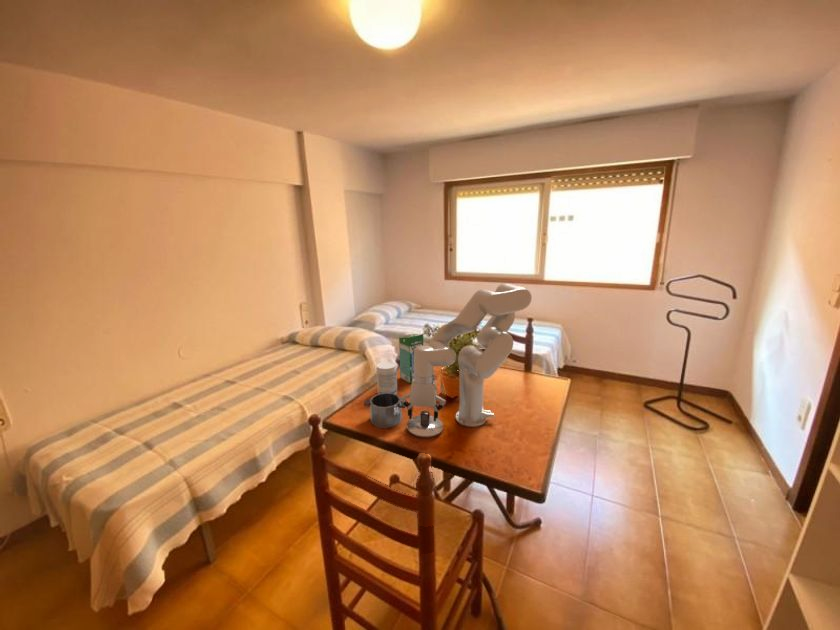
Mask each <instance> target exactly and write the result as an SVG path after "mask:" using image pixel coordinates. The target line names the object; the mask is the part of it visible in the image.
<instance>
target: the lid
mask: <svg viewBox="0 0 840 630" xmlns="http://www.w3.org/2000/svg"><path fill="white" fill-rule="evenodd" d="M430 414H431V413H430V411H429V410H422V411H420V415H416V416H412V418H411V419H409V420H408V421H407V424H406V426H407V427H406V429H407V431H408V432H409V433H411V435H413V436H416V437H420V438H431V437H436V436H437V435H439V434H440V433H441V432H442V431H443V429H444V428H443V426H444V424H443V421H442V420H441V419H439V417H438V418H436V421H434V415H430Z"/></svg>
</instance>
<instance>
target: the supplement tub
mask: <svg viewBox="0 0 840 630" xmlns="http://www.w3.org/2000/svg"><path fill="white" fill-rule="evenodd" d="M375 370H376V385H377V394H381V393H394V394H396V395H397V394H398V377H397V376H398V373H397V372H398V371H397V364H396V362H393V361H382V362H378V363H377V364H376V369H375Z"/></svg>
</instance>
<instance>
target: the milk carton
mask: <svg viewBox="0 0 840 630" xmlns="http://www.w3.org/2000/svg"><path fill="white" fill-rule="evenodd" d="M398 344H399V345H398V346H399V377H400V379H401V380H404V381H405V382H407V383H409V384H412V380H413V379H414V351H415V348H416V347H418V346H422V345H424V333H413V332H408V333H405V334H404V336H400V337H399V338H398Z"/></svg>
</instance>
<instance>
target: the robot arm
mask: <svg viewBox="0 0 840 630" xmlns="http://www.w3.org/2000/svg"><path fill="white" fill-rule="evenodd" d="M531 302H532V294H531V292H530V290H529V289H527V288H526V287H523V286H518V285H516V284H515V285H514V284H511V283H502V284H499V285H498V286H497V287H496V289H495V291H492V290H488V289H479V290H476V291H475V292H474V293H473V295H472V296H471V298H470V299H469V301H468V302H467V303H466V304H465V306H464V307H463V308H462V310H461V311H460V312H459V313H458V315H457V316H456V317H455V318H454V319H453V320H450V321H449V322H448V323H446V324H444V325H443V326H442V327H440V329H438V331H437V332H436V333H435V334H434V335H433V337H432V338H431V340H430V342H428V345H424V344H423V345H422V346H418V347H416V348H415V351H414V379H413V380H412V383H410V384H411V386H410V393H406V394H404V395H402V396H400V398H401V401H402V402H403V404H404V405H405V406H406V407H405V408H406V409H407V416H408V419H409V420H410V419H411V418H413V407H422V408H423V407H424V408H432V409H433V410H434V411H433V417H434V421H436V418H438V419H439V411H440V410H442V409H443V407H444V406H445V405H446V402H447V400H446V399H444V398H443V397H441V396H440V395H438V394H437V393H438V392H437V382H436V380H438V375H435V367H446V366H448V367H450V366H452V365H453V364H454V363H455V362H456V360H457V361H458V369H459V408H458V411H456V413H455V421H456V422H458V423H459V424H460V425H461V426H466V427H470V428H471V427H472V428H475V427H480V426H482V425H484V424H486V421H487V418H490V419H494V418H495V413H493V412H491V410H488V409H487V410H486V409H484V382H485V381H484V380H486V379H487V380H488V379H489V378H491V377H492V376H493V375H494V374H495V373H496V372H497V371H498V370H499V368H500V367H501V365H502V364H503V363H504V362H505V361H506V359H507V358H508V357H509V355H511V352H512V350H513V347H514V339H513V337H512V335H511V334H510V333H508V332H509V330H510V328H511V327H512V326H513V324H514V322H515V318H516V312H520V311H523V310H525V309H527V308H528V307H529V305H530V304H531ZM487 315H490V316H491V317H490V318H489V319H488V320H487V322H485V324H484V326H483V327H482V328H481V330H479V332H478V334H477V336H476V340H477V343H478V344H479V345H480V347H482V348H484V349H485V350H482V349H481V348H479V347H478V346H475V345H471V344H470V345H466V346H464V347H462V348H461V350H460V351H459V353H458V356H457V354H456V352H455V351H456V350H454V349H453V348H452V347H451V346H449V345H450V343H451V342H452V341H453V340H454V339H455V338H457V337H458V336H461V335H465V334H469V333H473V332H474V331H475V330H476V329H477V328H478V326H479V325H480V324H481V322H483V320H484V318H485V317H486V316H487ZM407 399H409V401H408V400H407ZM437 401H438V402H439V404H437Z"/></svg>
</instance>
